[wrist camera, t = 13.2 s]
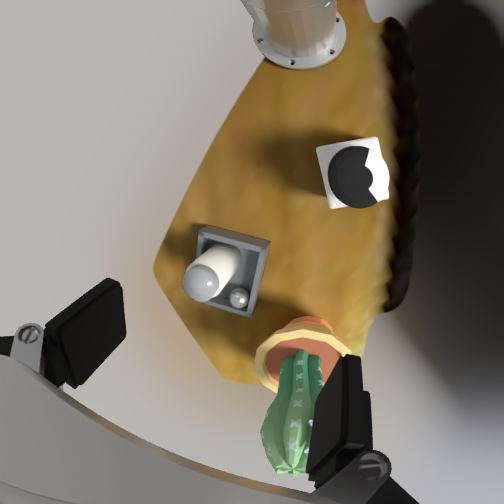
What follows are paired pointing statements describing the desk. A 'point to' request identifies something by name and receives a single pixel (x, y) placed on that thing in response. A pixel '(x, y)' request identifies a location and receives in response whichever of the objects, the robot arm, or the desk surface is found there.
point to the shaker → (211, 271)
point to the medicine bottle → (354, 173)
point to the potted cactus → (295, 387)
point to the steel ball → (239, 298)
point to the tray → (248, 271)
